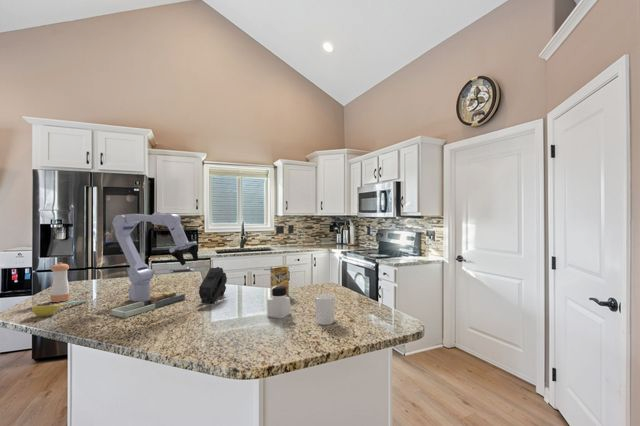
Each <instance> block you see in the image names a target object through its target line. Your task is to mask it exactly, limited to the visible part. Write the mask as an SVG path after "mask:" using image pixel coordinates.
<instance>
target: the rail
mask: <svg viewBox="0 0 640 426" xmlns="http://www.w3.org/2000/svg"><path fill="white" fill-rule="evenodd" d="M186 300H187V298H186V294H185V293H180V294H177V292H175V296H173V297H169V298H166V299H162V300H158V301H155V302H153V304H155V309H159V308H163V307H166V306H168V305H172V304H176V303H179V302H183V301H186ZM142 302H143V306H142V307H145V306H148V305H150V299H147V300H143V301H142Z"/></svg>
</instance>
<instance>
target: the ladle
mask: <svg viewBox="0 0 640 426" xmlns="http://www.w3.org/2000/svg"><path fill="white" fill-rule="evenodd" d="M87 301H88V300H75V301H74V300H72V301H69V302H68V301H67V302H65V303H64V302H63V303H60V304H53V305H51V304H49V305H35V306H31V307H32V308H31V311H32V312H33V313H32V314H34V315H35V316H37V317H40V318H45V316H47V317H50V316H52V315H54V314H55V313H57V311H58V310H59V308H60V307H61V306H63V305H69V304H73V303H74V304H75V303H87ZM49 315H50V316H49Z"/></svg>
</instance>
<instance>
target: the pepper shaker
mask: <svg viewBox="0 0 640 426" xmlns="http://www.w3.org/2000/svg"><path fill="white" fill-rule="evenodd" d="M69 269H70V266H69V264H67V263H63V262H58V263H57V264H54V265H52V266H51V267H50V270H51V271H52V283H51V289H50V290H51V294H50V303H51V302H58V303H61V302H60V301H64V302H67V301H66V300H68V301H70V300H71V299H70V298H71V297H70V296H71V295H70V294H71V293H70V291H69V289H70V288H69V287H70V285H69V279H68V270H69ZM69 299H70V300H69Z"/></svg>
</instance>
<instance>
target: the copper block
mask: <svg viewBox="0 0 640 426" xmlns="http://www.w3.org/2000/svg"><path fill="white" fill-rule="evenodd" d="M162 299H164V295H162V294H155V295H151V296H150V305H152V304H153V302H155V301H158V300H162Z"/></svg>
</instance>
